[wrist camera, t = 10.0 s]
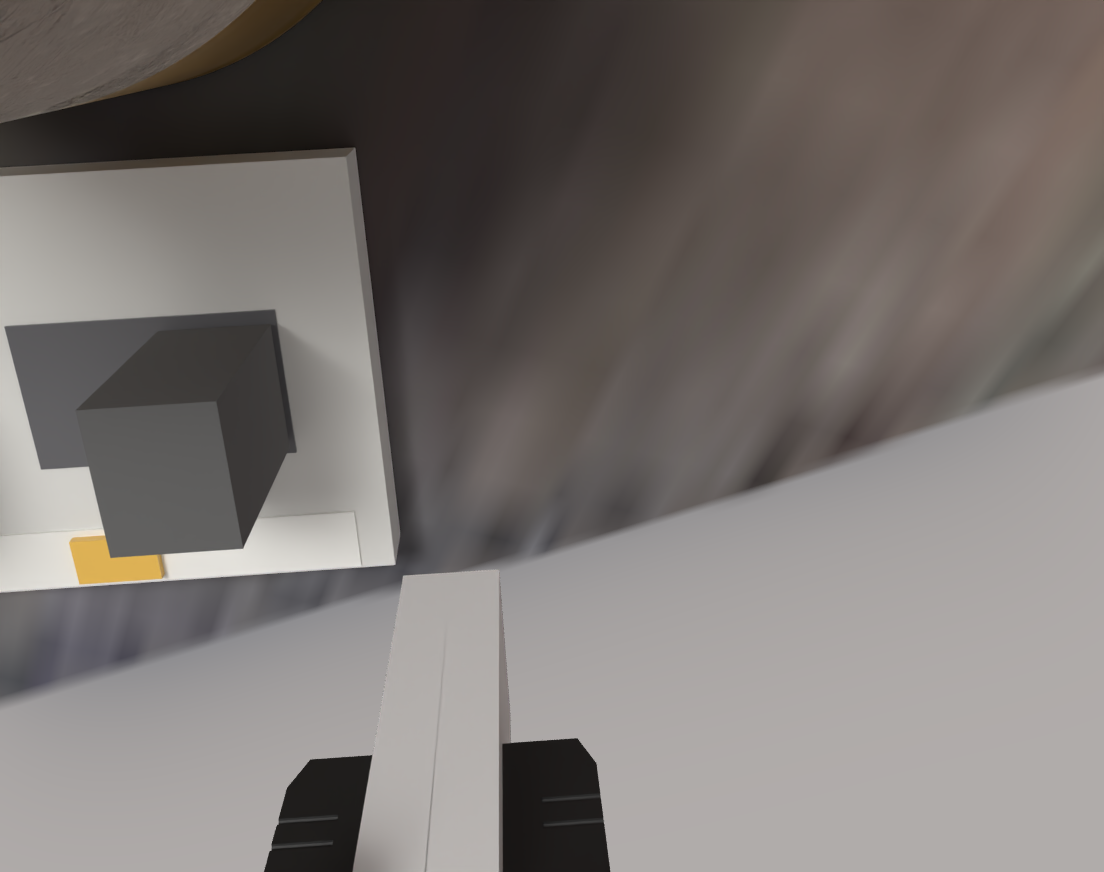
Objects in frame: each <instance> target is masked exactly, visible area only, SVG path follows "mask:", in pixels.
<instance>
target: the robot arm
mask: <svg viewBox="0 0 1104 872" xmlns="http://www.w3.org/2000/svg"><path fill="white" fill-rule="evenodd" d="M264 872H610V866H609V858H608V850H607V842H606V835H605V827H604V820H603V811H602V804H601V798H600V788H599V781H598V773H597V765H596V762H595V761H594V760H593V758H592V757H591V756H590V754H589V753H588V752H587V751H586V749H585V748H584V747H583V745H582V744H581V743H580V741H579V740H578V739H576V738H575V739H561V740H547V741H533V742H518V743H511V730H510V703H509V690H508V679H507V665H506V652H505V639H504V627H503V613H502V600H501V587H500V575H499V569H498V570H483V571H468V572H453V573H438V574H423V575H407V576H403V581H402V587H401V592H400V599H399V605H398V610H397V616H396V622H395V627H394V633H393V639H392V645H391V651H390V657H389V662H388V668H387V674H386V680H385V686H384V691H383V697H382V703H381V709H380V715H379V721H378V726H377V732H376V738H375V744H374V750H373V755H370V756H356V757H341V758H327V759H313V760H310V761H309V762H308V763H307V765H306V766H305V767H304V768H303V769H302V771H301V772H300V773H299V774H298V775H297V777H296V778H295V779H294V780H293V782H292V783H291V784H290V785H289V786H288V788H287V790H286V794H285V797H284V801H283V805H282V809H281V812H280V816H279V825H277V827H276V830H275V834H274V837H273V841H272V851H270V852H269V856H268V859H267V864H266V867H265V870H264Z"/></svg>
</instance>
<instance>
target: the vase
mask: <svg viewBox="0 0 1104 872" xmlns="http://www.w3.org/2000/svg"><path fill="white" fill-rule="evenodd" d="M321 1H322V0H0V123H3V122H7V121H12V120H16V119H20V118H25V117H29V116H34V115H38V114H42V113H47V112H51V111H56V110H60V109H65V108H69V107H73V106H78V105H82V104H87V103H91V102H95V101H100V100H104V99H109V98H113V97H117V96H122V95H126V94H131V93H135V92H139V91H144V90H148V89H153V88H157V87H161V86H166V85H170V84H175V83H179V82H183V81H186V80H190V79H193V78H197V77H200V76H203V75H206V74H208V73H211V72H214V71H216V70H219V69H221V68H224V67H226V66H228V65H231V64H233V63H235V62H237V61H239V60H241V59H243V58H245V57H247V56H249V55H251V54H253V53H254V52H256V51H258V50H260V49H261V48H263V47H265V46H266V45H268V44H269V43H271V42H272V41H274V40H275V39H277V38H278V37H280V36H281V35H283V34H284V33H285V32H287V31H288V30H289V29H291V28H292V27H293V26H295V25H296V24H297V23H298V22H299V21H301V20H302V19H303V18H304V17H305V16H307V15H308V14H309V13H310V12H311V11H312V10H313V9H314V8H315V7H316V6H317V5H318V4H319V3H320V2H321Z"/></svg>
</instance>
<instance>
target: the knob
mask: <svg viewBox="0 0 1104 872" xmlns="http://www.w3.org/2000/svg"><path fill="white" fill-rule="evenodd" d="M75 411H76V415H77V420H78V424H79V428H80V432H81V436H82V441H83V445H84V449H85V453H86V457H87V462H88V466H89V470H90V474H91V478H92V483H93V487H94V491H95V495H96V499H97V504H98V508H99V512H100V516H101V520H102V525H103V529H104V533H105V537H106V541H107V546H108V550H109V554H110V558H117V557H132V556H146V555H161V554H175V553H190V552H204V551H218V550H233V549H243V548H244V546H245V544H246V541H247V539H248V537H249V535H250V533H251V531H252V528H253V526H254V524H255V522H256V520H257V517H258V515H259V513H260V511H261V509H262V507H263V504H264V502H265V500H266V498H267V496H268V493H269V491H270V489H271V487H272V485H273V483H274V480H275V478H276V476H277V474H278V472H279V470H280V467H281V465H282V463H283V461H284V459H285V456H286V454H287V452H288V450H289V448H290V446H289V440H288V434H287V427H286V421H285V414H284V408H283V402H282V395H281V389H280V383H279V376H278V370H277V363H276V357H275V351H274V344H273V338H272V332H271V325H270V324H265V325H249V326H233V327H217V328H201V329H185V330H169V331H157V332H156V333H155V334H154V335H153V336H152V337H151V338H150V339H149V340H148V341H147V342H146V343H145V344H144V345H143V346H142V347H141V348H140V349H139V350H138V351H137V352H136V353H134V354H133V355H132V356H131V357H130V358H129V359H128V360H127V361H126V362H125V363H124V364H123V365H122V366H121V367H120V368H119V369H118V370H117V371H116V372H115V373H114V374H113V375H112V376H111V377H110V378H109V379H107V380H106V381H105V382H104V383H103V384H102V385H101V386H100V387H99V388H98V389H97V390H96V391H95V392H94V393H93V394H92V395H91V396H90V397H89V398H88V399H87V400H86V401H85V402H84V403H83V404H81V405H80V406H79V407H78V408H77V409H76V410H75Z"/></svg>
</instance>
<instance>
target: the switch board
mask: <svg viewBox="0 0 1104 872" xmlns="http://www.w3.org/2000/svg"><path fill="white" fill-rule="evenodd" d="M265 324H270V325H271V332H272V338H273V344H274V351H275V357H276V363H277V370H278V376H279V383H280V389H281V395H282V402H283V408H284V414H285V421H286V427H287V434H288V440H289V446H290V448H289V450H288V452H287V454H286V456H285V459H284V461H283V463H282V465H281V467H280V470H279V472H278V474H277V476H276V478H275V480H274V483H273V485H272V487H271V489H270V491H269V493H268V496H267V498H266V500H265V502H264V504H263V507H262V509H261V511H260V513H259V515H258V517H257V520H256V522H255V524H254V526H253V528H252V531H251V533H250V535H249V537H248V539H247V541H246V544H245V546H244V548H243V549H233V550H218V551H204V552H190V553H175V554H161V555H146V556H132V557H117V558H110V554H109V550H108V546H107V541H106V537H105V533H104V529H103V525H102V520H101V516H100V512H99V508H98V504H97V499H96V495H95V491H94V487H93V483H92V478H91V474H90V470H89V466H88V462H87V457H86V453H85V449H84V445H83V441H82V436H81V432H80V428H79V424H78V420H77V415H76V411H75V410H76V409H77V408H78V407H79V406H80V405H81V404H83V403H84V402H85V401H86V400H87V399H88V398H89V397H90V396H91V395H92V394H93V393H94V392H95V391H96V390H97V389H98V388H99V387H100V386H101V385H102V384H103V383H104V382H105V381H106V380H107V379H109V378H110V377H111V376H112V375H113V374H114V373H115V372H116V371H117V370H118V369H119V368H120V367H121V366H122V365H123V364H124V363H125V362H126V361H127V360H128V359H129V358H130V357H131V356H132V355H133V354H134V353H136V352H137V351H138V350H139V349H140V348H141V347H142V346H143V345H144V344H145V343H146V342H147V341H148V340H149V339H150V338H151V337H152V336H153V335H154V334H155V333H156V332H157V331H169V330H185V329H201V328H217V327H233V326H249V325H265ZM399 540H400V525H399V517H398V508H397V500H396V491H395V483H394V474H393V465H392V457H391V448H390V440H389V431H388V423H387V414H386V406H385V397H384V389H383V380H382V371H381V363H380V354H379V346H378V337H377V329H376V320H375V312H374V303H373V294H372V286H371V277H370V269H369V260H368V252H367V243H366V235H365V226H364V217H363V209H362V200H361V192H360V183H359V175H358V166H357V158H356V149H355V147H354V148H336V149H319V150H301V151H284V152H266V153H248V154H231V155H213V156H195V157H178V158H160V159H143V160H125V161H107V162H90V163H72V164H55V165H37V166H19V167H2V168H0V593H1V592H15V591H29V590H43V589H58V588H72V587H86V586H101V585H115V584H129V583H143V582H158V581H172V580H186V579H200V578H215V577H229V576H243V575H257V574H272V573H286V572H300V571H314V570H329V569H343V568H357V567H371V566H386V565H395V564H396V558H397V552H398V546H399Z"/></svg>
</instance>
